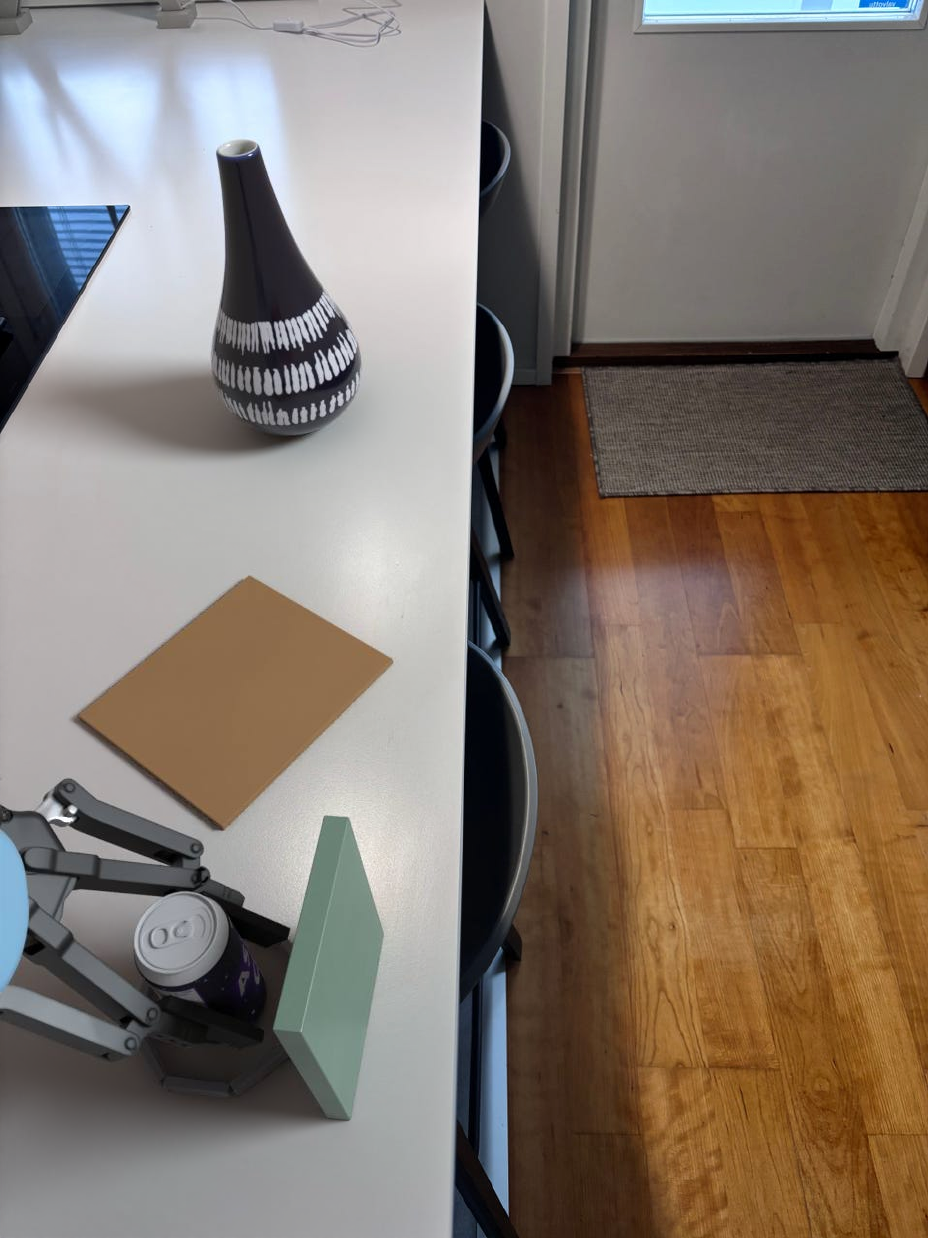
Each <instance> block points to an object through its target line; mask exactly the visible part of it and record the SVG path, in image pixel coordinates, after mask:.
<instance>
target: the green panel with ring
mask: <svg viewBox="0 0 928 1238" xmlns="http://www.w3.org/2000/svg"><path fill="white" fill-rule="evenodd" d="M320 827H321V828H320V832H319V835H318V839H317V843H316V848H315V852H314V856H313V860H312V864H311V868H310V871H309V872H310V873H309V875H308V876H309V877H308V879H307V880H308V881H307V884H306V889H305V892H304V897H303V902H302V907H301V908H300V909H301V910H300V914H299V918H298V922H297V926H296V931H295V935H294V939H293V943H292V941H291V940H290V939H289V938H288V939H287V940H285V941H283V942H280V943H278V944H279V945H280V947H281V949H282V950H283V951H284V952H285V954H286V955H287V957H288V964H287V968H286V972H285V975H284V980H283V985H282V988H281V992H280V996H279V1000H278V1004H277V1009H276V1013H275V1017H274V1022H273V1025H272V1032H273V1033H274V1034H275V1036H276V1037H277V1039H278V1041H279V1042H280V1044H278V1045H277V1046H276V1047H274V1048H273V1049H272V1050H271V1051H270V1052H268V1053H267V1054H266V1055H264V1056H262V1057H261V1058H260V1059H259V1060H258V1061H257V1062H255V1063H254V1064H253V1065H251V1066H250V1067H249V1068H247V1069H246V1070H245V1071H244V1072H242V1073H241V1074H240V1075H239V1076H237V1077H235V1079H233V1080H232V1081H231V1082H222V1081H215V1080H207V1079H206V1080H204V1079H198V1078H197V1079H196V1078H187V1077H178V1076H170V1075H169V1074H168V1072H167V1070H166V1069H165V1067H164V1065H163V1063H162V1061H161V1060H160V1057H159V1056H158V1054H157V1052H156V1049H155V1048H154V1046H153V1045H152V1043H151V1040H150V1039H149V1036H146V1037H145V1038H144V1040H143V1041H142V1043H141V1046H140V1049H139V1051H140V1053H141V1055H142V1056H143V1059H144V1060H145V1062H146V1064H147V1065H148V1067H149V1069H150V1071H151V1073H152V1075H153V1077H154V1079H155V1081H156V1082H157V1084H159V1085H160V1087H162V1088H165V1090H167V1091H168V1092H171V1093H180V1094H189V1095H198V1096H207V1097H215V1098H223V1099H232V1098H233V1095H234V1093H235V1094H236V1095H237V1097H238V1096H239V1097H240V1096H241V1095H242V1094H243V1093H245V1092H246V1091H247V1090H249V1089H250V1088H252V1086H254V1085H255V1084H256V1083H258V1082H259V1081H260V1080H262V1078H264V1077H265V1076H267V1075H268V1074H269V1073H270V1072H271V1071H273V1070H274V1069H275V1068H276V1067H278V1066H280V1064H282V1063H283V1062H284V1061H285V1060H287V1059H288V1058H290V1060H291V1062H292V1063H293V1065H294V1066H295V1068H296V1070H297V1071H298V1073H299V1074H300V1076H301V1077H302V1079H303V1081H304V1083H305V1084H306V1086H307V1087H308V1089H309V1091H310V1092H311V1094H312V1095H313V1096H314V1098H315V1101H316V1102H317V1104H318V1105H319V1107H320V1108H321V1109H322V1111H323V1113H324V1114H325V1116H326V1118H328V1119H334V1120H344V1121H351V1120H352V1116H353V1109H354V1103H355V1098H356V1093H357V1087H358V1081H359V1076H360V1071H361V1064H362V1058H363V1053H364V1048H365V1042H366V1037H367V1033H368V1032H367V1031H368V1026H369V1020H370V1015H371V1009H372V1005H373V1004H372V1002H373V999H374V993H375V987H376V981H377V975H378V970H379V963H380V959H381V952H382V947H383V941H384V937H385V936H384V935H385V932H384V929H383V928H384V927H383V925H382V922H381V919H380V915H379V912H378V909H377V905H376V902H375V898H374V895H373V892H372V889H371V886H370V882H369V879H368V875H367V872H366V868H365V865H364V862H363V859H362V855H361V852H360V849H359V846H358V842H357V839H356V836H355V833H354V830H353V826H352V823H351V818H350V817H349V816H340V815H324V816H323V819H322V823H321V826H320ZM139 991H141V992H142V993H143V994H144V995H146V996H147V997H148V998H150V999H151V1000H152V1001H153V1002H154V997H155V994H156V992H155V991H154V990H153V989H152V988H151V986H150V985H149V984H148V983H147V982H146V980H145V979H144V978H143V980H142V983H141V986H140V989H139Z"/></svg>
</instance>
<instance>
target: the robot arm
mask: <svg viewBox="0 0 928 1238" xmlns="http://www.w3.org/2000/svg"><path fill="white" fill-rule="evenodd" d="M51 825H54V826H56V827H59V828H67V827H70V828H72V829H73V830H75V831H78V832H79V833H82V834H85V835H87V836H90V837H93V838H95V839H98V840H100V841H103V842H105V843H107V844H111V845H113V846H116V847H119V848H120V849H121V848H122V849H124V850H127V851H129V852H132V853H135V854H138V855H140V856H142V857H145V858H148V859H151V860H153V861H156V862H158V863H161V864H156V863H147V862H138V861H129V860H120V859H113V858H112V859H111V858H103V857H99V855H98V854H94V853H85V852H75V851H67V850H66V848H65V847H64V845H63V843H62V842H61V840H60V838H59V837H58V834H56V832H55V830H54V828H53V827H52V826H51ZM204 852H205V847H204V844H203V843H202V841H200V840H199V839H197V838H195V837H192V836H190V835H187V834H185V833H183V832H180V831H177V830H175V829H172V828H169V827H167V826H165V825H162V824H160V823H157V822H154V821H152V820H150V819H147V818H145V817H142V816H140V815H138V814H134V813H132V812H130V811H127V810H124V809H122V808H120V807H117V806H114V805H112V804H109V803H107V802H105V801H102V800H99V799H97V798H96V797H95V796H94V795H93V794H91V793H90V792H89V791H88V790H87V789H85V787H83V785H81V784H80V783H78V781H76V780H75V779H73V778H69V777H68V778H63V779H62V780H61V781H59V782H58V783H57V784H56V785H54V786H53V787H51V789H50V790H49V791H47V792H46V793H45V794H44V796H43V798H42V802H41V803H40V804H39V805H38V806H37V808H36V809H34V810H13V809H9V808H7V807H6V806H3V804H1V803H0V1021H2V1022H4V1023H6V1024H9V1025H12V1026H14V1027H16V1028H19V1029H22V1030H25V1031H27V1032H29V1033H32V1034H35V1035H37V1036H39V1037H43V1038H45V1039H48V1040H50V1041H53V1042H55V1043H58V1044H61V1045H63V1046H65V1047H68V1048H71V1049H72V1050H73V1049H74V1050H76V1051H78V1052H81V1053H84V1054H86V1055H88V1056H90V1057H93V1058H96V1059H99V1060H101V1061H104V1062H106V1063H113V1062H114V1063H115V1062H117V1061H121V1060H123V1059H127V1058H130V1057H132V1056H134V1055H136V1054H137V1053H138V1052H139V1051H140V1046H141V1043H142V1041H143V1040H144V1038H145V1037H146V1036H147V1037H148V1038H152V1039H155V1040H158V1041H160V1042H163V1043H167V1044H170V1045H173V1046H175V1047H179V1048H181V1049H192V1048H195V1047H200V1046H201V1045H204V1044H205V1043H204V1042H205V1038H208V1039H211V1040H214V1041H217V1042H220V1043H222V1044H221V1045H225V1046H228V1047H230V1048H231V1047H232V1048H234V1049H237V1050H242V1049H246V1048H250V1047H253V1046H256V1045H259V1044H262V1043H264V1038H265V1034H266V1029H265V1028H263V1027H260V1026H257V1025H252V1024H249V1023H246V1022H244V1021H241V1020H238V1019H235V1018H233V1017H230V1016H227V1015H225V1014H222V1013H219V1012H217V1011H214V1010H211V1009H209V1008H206V1007H203V1006H200V1005H198V1004H195V1003H192V1002H190V1001H187V1000H184V999H182V998H179V997H175V996H172V995H169V996H166V997H164V998H159V999H157V1000H153V1001H152V1000H151V999H150V998H148V997H147V996H146V995H144V994H143V993H142V992H141V991H140V989H139V988H137V987H136V986H134V985H133V984H132V983H131V982H129V980H127V979H125V978H124V977H123V976H122V975H121V974H119V973H118V972H117V971H116V970H114V969H113V968H112V967H111V966H109V965H108V964H107V963H105V962H104V961H103V960H102V959H100V958H99V957H97V955H95V954H94V953H93V952H91V951H90V950H89V949H88V948H86V947H85V946H84V945H82V943H80V942H79V941H77V940H76V939H75V937H74V935H73V932H72V931H71V930H69V928H68V927H66V926H65V925H64V924H62V923H61V921H62V917H63V913H64V907H65V901H66V900H67V899H68V897H69V896H70V894H71V893H72V892H73V891H79V890H83V891H96V892H106V893H114V894H115V893H117V894H127V895H138V896H149V897H159V898H162V897H165V896H167V895H169V894H172V893H176V892H185V891H188V892H194V893H198V894H201V895H203V896H206V897H209V898H211V899H213V900H215V901H216V902H217V903H219V904H220V905H221V906H222V907H223V909H224V910H225V912H226V913H227V915H228V917H229V918H230V920H231V922H232V923H233V925H234V927H235V929H236V930H237V932H238V934H239V935H240V937H241V939H242V940H244V941H246V942H249V943H251V944H254V945H256V946H259V947H261V948H263V949H268V948H271V947H273V946H275V945H278V944H279V943H280V942H283V941H285V940H287V939H289V936H290V933H291V930H292V929H291V927H289V926H287V925H284V924H282V923H280V922H278V921H275V920H274V919H271V918H268V917H266V916H264V915H261V914H260V913H257V912H255V911H252V910H250V909H247V908H245V907H243V906H244V904H245V900H246V897H245V895H243V894H242V893H241V891H239V890H236V889H234V888H232V887H230V886H228V885H226V884H223V883H221V882H219V881H216V880H214V879H212V878H211V872H210V870H209V869H208V867H206V866H204V865H201V857H202V856H203V854H204ZM22 956H23V957H24V958H26V959H27V960H28V961H29V962H31V963H32V964H34V965H36V966H40V967H43V968H44V969H46V970H47V971H48V972H49V973H51V974H52V975H53V976H55V977H56V978H57V979H59V980H60V981H61V982H62V983H64V984H65V985H66V986H67V987H69V988H70V989H71V990H73V991H74V992H75V993H77V994H78V996H80V997H82V999H85V1000H86V1001H87V1002H88V1003H89V1004H91V1005H92V1006H94V1008H96V1009H97V1010H99V1011H100V1012H101V1013H102V1014H104V1015H105V1016H106V1017H108V1018H109V1019H110V1020H112V1021H113V1022H114V1023H115V1024H114V1023H111V1022H109V1021H107V1020H104V1019H102V1018H99V1017H96V1016H95V1015H92V1014H90V1013H87V1012H85V1011H82V1010H80V1009H78V1008H74V1007H73V1006H69V1005H68V1004H65V1003H62V1002H60V1001H58V1000H55V999H53V998H51V997H48V996H46V995H43V994H41V993H39V992H36V991H33V990H32V989H28V988H26V987H23V986H20V985H14V984H9V983H10V982H11V980H12V979H13V976H14V975H15V973H16V970H17V968H18V967H19V963H20V962H21V961H20V960H21V959H22ZM116 1024H117V1025H116Z"/></svg>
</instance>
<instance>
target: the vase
mask: <svg viewBox="0 0 928 1238" xmlns="http://www.w3.org/2000/svg"><path fill="white" fill-rule="evenodd" d="M215 155H216V161H217V168H218V174H219V182H220V189H221V201H222V211H223V213H222V214H223V228H224V229H223V230H224V269H223V277H222V286H221V293H220V297H219V304H218V309H217V314H216V319H215V324H214V329H213V334H212V339H211V347H210V348H211V349H210V364H211V365H210V366H211V367H210V368H211V372H212V378H213V381H214V386H215V388H216V391H217V393H218V396H219V397H220V399H221V401H222V403H223V404H224V405H225V407H226V408H227V409H228V411H230V413H231V414H232V415H234V417H235V418H236V419H238V420H239V421H241V422H242V423H243V424H245V425H246V426H248V427H250V428H252V429H255V430H256V431H259V432H263V433H265V434H269V435H274V436H282V437H286V436H290V437H291V436H303V435H307V434H311V433H313V432H317V431H318V430H320V429H321V430H322V429H323V428H325V427H327V426H328V425H330V424H331V423H333V422H334V421H336V420H337V419H338V418H339V417H340V416H341V415H343V414H344V413H345V411H347V409H348V408H349V406H350V405H351V403H352V402H353V400H354V399H355V397H356V395H357V393H358V390H359V387H360V384H361V380H362V373H363V363H362V353H361V349H360V345H359V342H358V339H357V337H356V334H355V332H354V330H353V327H352V325H351V323H350V322H349V320H348V318H347V317H346V316H345V314H344V312H343V311H342V310H341V308H340V307H339V306H338V304H337V303H336V302H335V300H334V299H333V297H332V296H331V295H330V294H329V293H328V291H327V290H326V288H325V287H324V285H323V284H322V282H321V281H320V280H319V279H318V277H317V276H316V274H315V273H314V270H312V267H311V266H310V265H309V263H308V262H307V260H306V259H305V256H304V254H303V253H302V251H301V249H300V247H299V245H298V244H297V241H296V240H295V237H294V235H293V233H292V231H291V229H290V227H289V225H288V223H287V220H286V217H285V216H284V213H283V211H282V208H281V205H280V203H279V200H278V198H277V195H276V192H275V189H274V187H273V185H272V182H271V179H270V175H269V173H268V170H267V167H266V164H265V160H264V157H263V153H262V151H261V147H260V145H259V143H257V142H256V141H254V140H251V139H235V140H229V141H227V142H224V143H223V144H221V145H220V146H218V148H217V149H216V151H215Z"/></svg>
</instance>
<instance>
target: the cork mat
mask: <svg viewBox="0 0 928 1238" xmlns="http://www.w3.org/2000/svg"><path fill="white" fill-rule="evenodd" d="M393 664H394V660H393V658H392V657H390V656H389V655H387V654H385V653H383V652H381V650H378V649H376V648H374V647H373V646H371V645H369V644H368V643H366V642H364V641H362V640H361V639H359V638H358V637H356V636H354V635H353V634H350V633H349V632H347V631H346V630H345V629H342V628H340V627H339V626H338V625H335V624H334V623H332V622H331V621H329V620H327V619H325V618H324V617H322V616H320V615H319V614H316V613H315V612H314V611H311V610H310V609H308V608H307V607H304V606H303V605H301V604H299V603H298V602H297V601H294V600H293V599H291V598H290V597H288V596H285V595H284V594H283V593H281V592H279V591H277V590H276V589H274V588H273V587H270V586H269V585H267V584H265V583H264V582H262V581H260V580H259V579H257V578H255V577H254V576H252V575H251V574H249V575H247V576H246V577H245V578H244V579H242V580H241V581H240V582H239V583H238V584H236V585H235V586H234V587H233V588H232V589H230V590H229V591H228V592H227V593H225V594H224V595H223V596H222V597H220V598H219V599H218V600H217V601H216V602H215V603H213V604H212V605H210V607H209V608H207V609H206V610H205V611H203V613H201V614H200V615H199V616H198V617H196V618H195V619H194V620H192V621H191V622H190V623H189V624H188V625H186V626H185V627H184V628H183V629H182V630H180V631H179V632H178V633H176V634H175V635H174V636H173V637H172V638H171V639H169V640H168V641H167V642H166V643H164V644H163V645H161V647H160V648H158V649H157V650H156V651H155V652H153V653H152V654H151V655H150V656H149V657H147V658H146V659H145V660H144V661H143V662H141V663H140V664H138V666H136V667H135V668H134V669H133V670H132V671H130V672H129V673H128V674H127V675H125V677H123V678H122V679H121V680H119V681H118V682H117V683H115V684H114V685H113V686H112V687H111V688H110V689H108V691H106V692H105V693H104V694H103V695H101V696H100V697H98V698H97V699H96V700H95V701H94V702H93V703H92V704H90V705H89V706H87V707H86V709H84V710H82V711H81V712H80V713H79V714H78V718H79V720H80V721H82V722H83V723H84V724H86V725H87V726H88V727H89V728H91V729H92V730H94V731H95V732H96V733H98V735H100V736H101V737H103V738H104V739H105V740H106V741H107V742H109V743H110V744H112V745H113V746H114V747H115V748H117V749H118V750H119V751H120V752H122V754H124V755H126V756H127V757H128V758H130V759H131V760H132V761H134V762H135V763H136V764H137V765H139V766H140V767H141V768H143V769H144V770H145V771H146V772H148V773H149V774H151V776H153V777H154V778H156V779H157V780H158V781H159V782H161V783H162V784H163V785H165V786H166V787H167V788H168V789H170V790H171V791H172V792H174V793H175V794H176V795H177V796H179V797H180V798H181V799H183V800H184V801H185V802H187V803H188V804H189V805H190V806H192V807H193V808H194V809H196V810H197V811H198V812H199V813H201V814H202V815H203V816H205V817H206V818H207V819H209V820H210V821H211V822H213V823H214V824H215V825H216V826H217V827H218V828H220V829H222V830H223V831H225V830H226V829H227V828H228V827H229V826H230V825H231V824H232V823H233V822H234V821H235V820H236V819H237V818H238V817H239V816H240V815H241V814H242V813H243V812H244V811H245V810H246V809H247V808H248V807H249V806H250V805H251V804H252V803H253V802H254V801H256V800H257V798H258V797H259V796H260V795H262V794H263V792H265V790H267V789H268V787H270V785H271V784H273V782H274V781H276V780H277V779H278V777H280V776H281V775H282V774H283V773H284V772H285V771H286V770H287V769H288V768H289V767H291V766H290V765H292V764H293V763H294V762H295V761H296V760H297V759H298V758H300V756H301V755H302V754H303V753H304V752H305V751H306V750H307V749H309V747H310V746H311V745H312V744H313V743H314V742H315V741H316V740H317V739H319V737H320V736H321V735H323V733H324V732H325V731H326V730H327V729H328V728H329V727H331V725H332V724H334V723H335V721H337V719H338V718H340V716H341V715H343V713H345V711H346V710H348V709H349V707H351V705H352V704H354V703H355V702H356V701H357V699H359V698H360V697H361V696H362V695H363V694H364V693H365V692H366V691H367V690H368V689H369V688H370V687H371V686H372V685H373V684H374V683H375V682H376V681H377V680H378V679H379V678H380V677H381V676H382V675H383V674H384V673H385V672H386V671H387V670H388V669H389V668H390V667H391V666H392V665H393Z"/></svg>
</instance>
